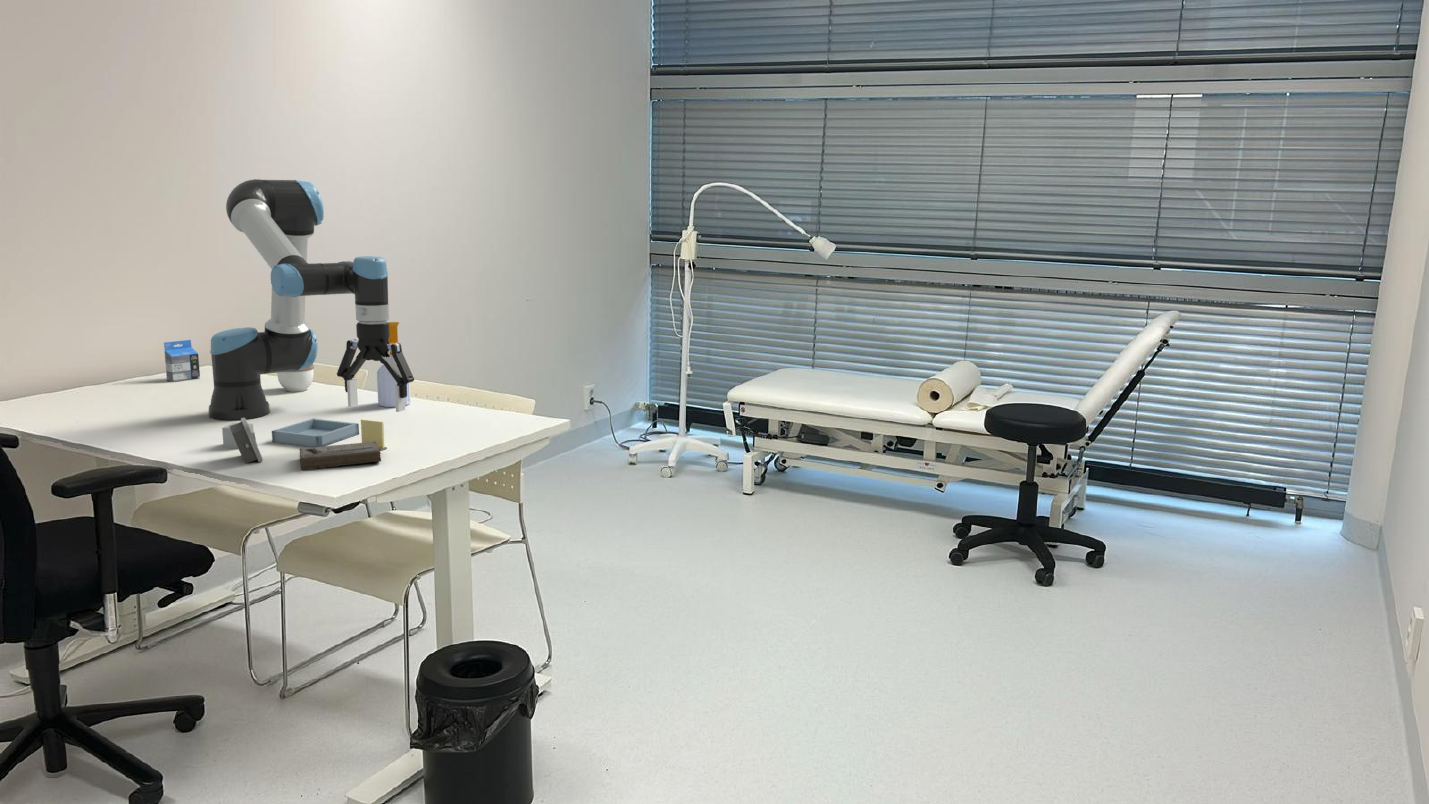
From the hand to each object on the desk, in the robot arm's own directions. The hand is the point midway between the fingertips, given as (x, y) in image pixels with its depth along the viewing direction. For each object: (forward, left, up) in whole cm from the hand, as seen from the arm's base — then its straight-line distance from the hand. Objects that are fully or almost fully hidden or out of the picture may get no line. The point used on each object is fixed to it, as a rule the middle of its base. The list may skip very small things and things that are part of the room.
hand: (376, 408), depth 236 cm
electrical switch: (-20, -21, -10) cm, 31 cm away
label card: (0, -2, -10) cm, 10 cm away
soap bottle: (-25, +42, -10) cm, 50 cm away
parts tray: (-19, +1, -10) cm, 21 cm away
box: (0, -14, -10) cm, 18 cm away
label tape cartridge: (-106, +45, -10) cm, 116 cm away
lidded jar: (-64, +47, -10) cm, 80 cm away
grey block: (-31, -12, -10) cm, 35 cm away
